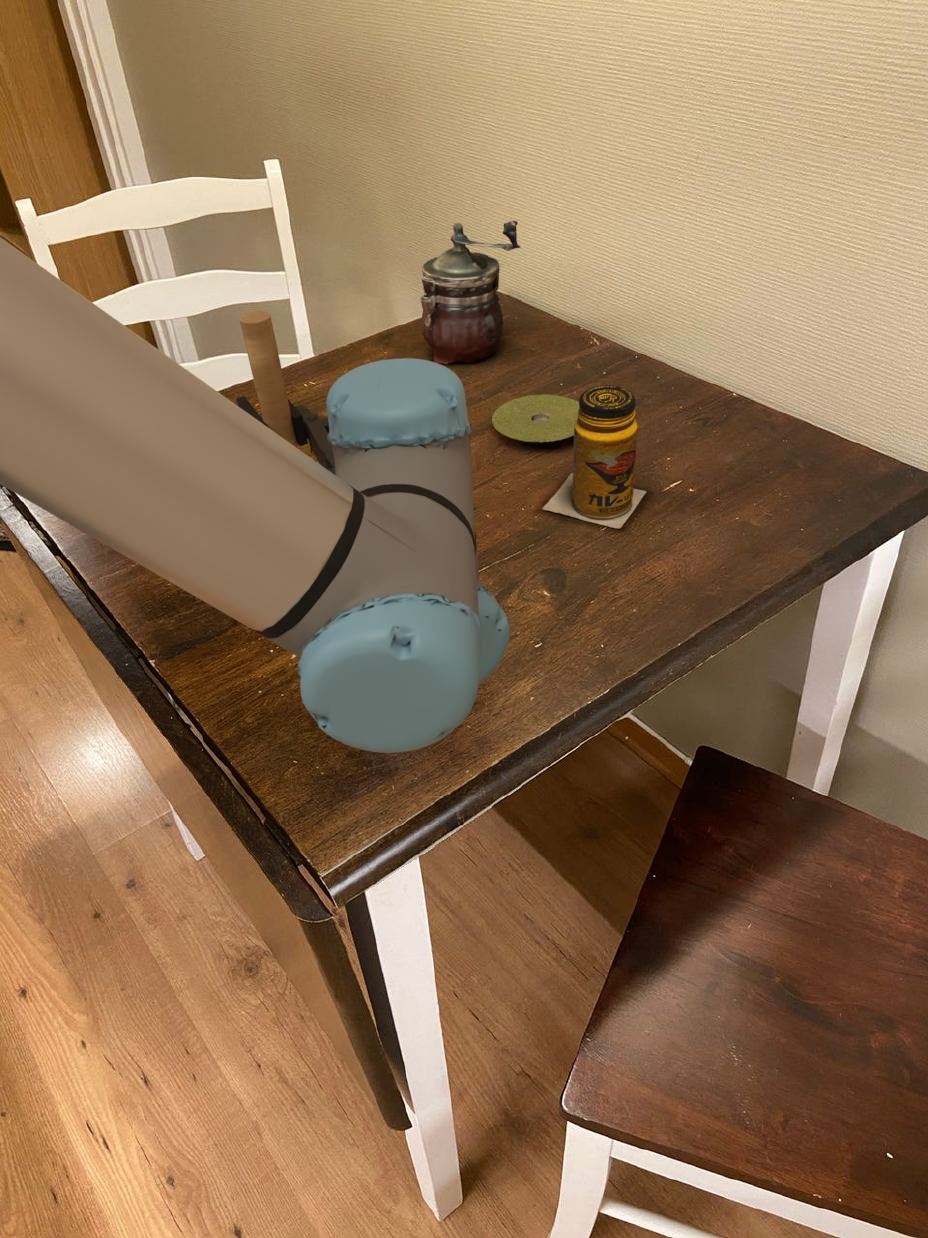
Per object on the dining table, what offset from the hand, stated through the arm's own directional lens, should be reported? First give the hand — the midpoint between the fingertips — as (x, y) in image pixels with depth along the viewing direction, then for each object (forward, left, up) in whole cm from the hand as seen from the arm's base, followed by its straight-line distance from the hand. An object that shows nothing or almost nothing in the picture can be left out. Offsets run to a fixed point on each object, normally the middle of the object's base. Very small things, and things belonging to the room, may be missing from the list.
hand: (260, 406), depth 79 cm
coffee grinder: (+18, +42, -15) cm, 48 cm away
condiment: (+31, +5, -15) cm, 34 cm away
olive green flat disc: (+26, +20, -15) cm, 36 cm away
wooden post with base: (+3, -5, -12) cm, 13 cm away
